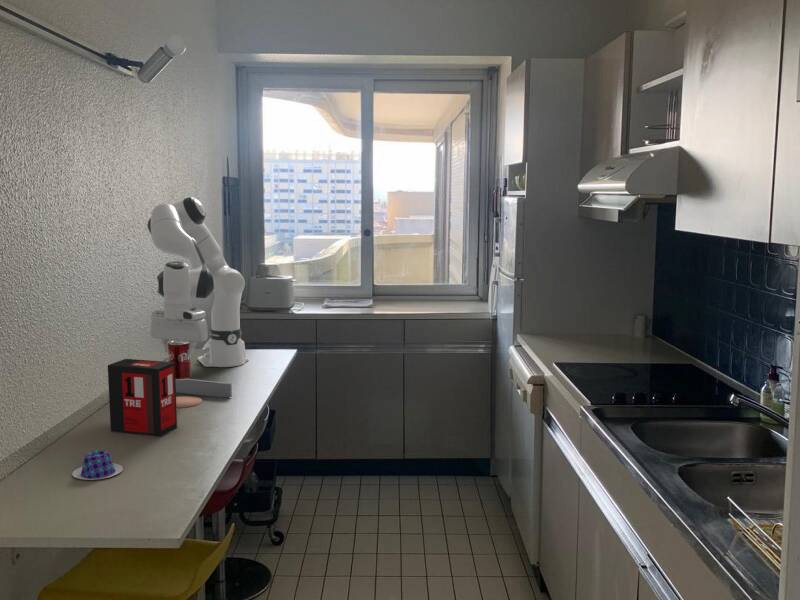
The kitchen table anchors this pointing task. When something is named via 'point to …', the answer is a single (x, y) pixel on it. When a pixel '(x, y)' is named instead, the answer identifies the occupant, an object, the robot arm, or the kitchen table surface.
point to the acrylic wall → (204, 387)
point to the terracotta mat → (187, 401)
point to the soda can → (180, 359)
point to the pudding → (97, 466)
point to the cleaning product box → (142, 397)
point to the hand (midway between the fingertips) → (179, 353)
